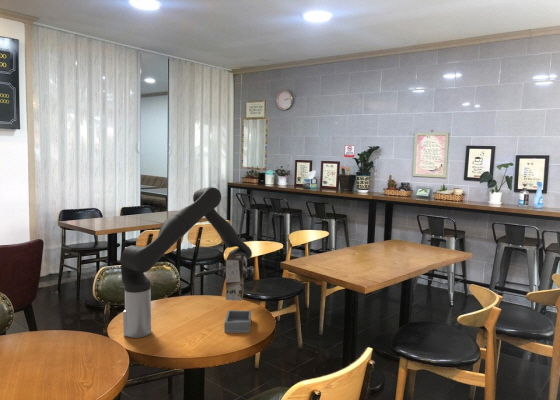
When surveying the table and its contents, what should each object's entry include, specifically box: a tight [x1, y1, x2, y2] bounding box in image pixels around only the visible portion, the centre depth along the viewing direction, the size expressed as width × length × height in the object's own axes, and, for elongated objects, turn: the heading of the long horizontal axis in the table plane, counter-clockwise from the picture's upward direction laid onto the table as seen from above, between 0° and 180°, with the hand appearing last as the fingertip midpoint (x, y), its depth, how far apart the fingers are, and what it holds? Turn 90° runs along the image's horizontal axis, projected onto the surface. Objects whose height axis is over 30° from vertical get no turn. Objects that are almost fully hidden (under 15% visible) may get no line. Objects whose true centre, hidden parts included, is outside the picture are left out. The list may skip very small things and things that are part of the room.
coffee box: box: [225, 254, 245, 302], centre depth 173 cm, size 9×6×16 cm
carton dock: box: [223, 309, 252, 334], centre depth 174 cm, size 10×13×4 cm
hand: (234, 276), depth 170 cm, fingers closed on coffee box, 6 cm apart
